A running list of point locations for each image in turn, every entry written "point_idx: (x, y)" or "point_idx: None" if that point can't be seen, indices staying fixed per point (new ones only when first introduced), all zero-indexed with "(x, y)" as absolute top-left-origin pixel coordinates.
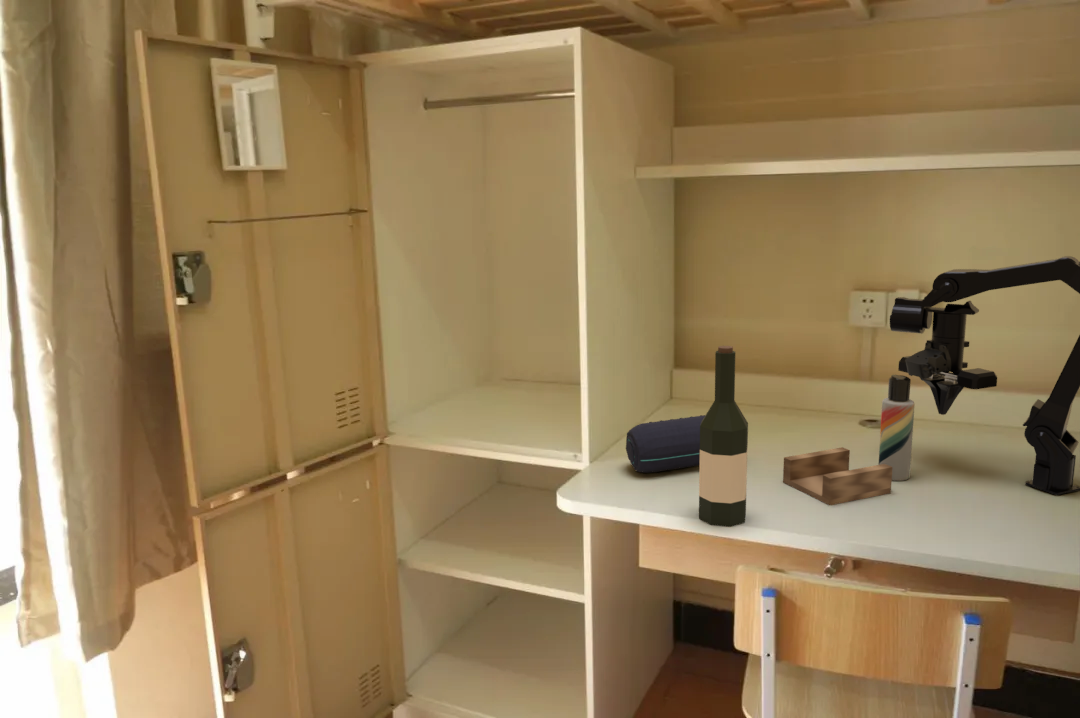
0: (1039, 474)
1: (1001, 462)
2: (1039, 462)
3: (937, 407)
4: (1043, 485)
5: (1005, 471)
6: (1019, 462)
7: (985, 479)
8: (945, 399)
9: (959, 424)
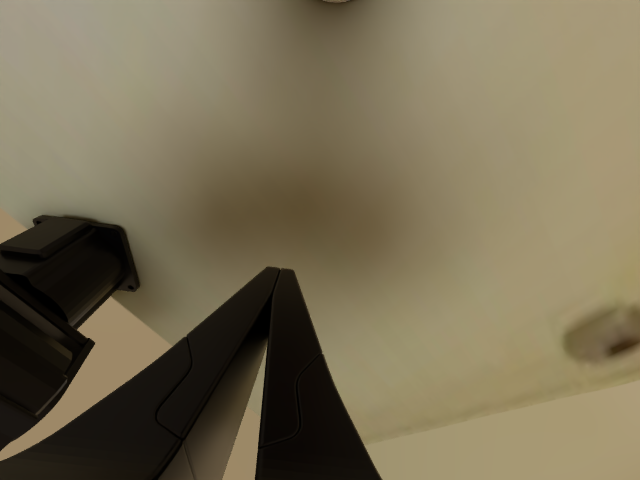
0: (41, 235)
1: None
2: (26, 261)
3: (294, 291)
4: (50, 220)
5: (213, 270)
6: None
7: (184, 189)
8: (177, 344)
9: (444, 413)
